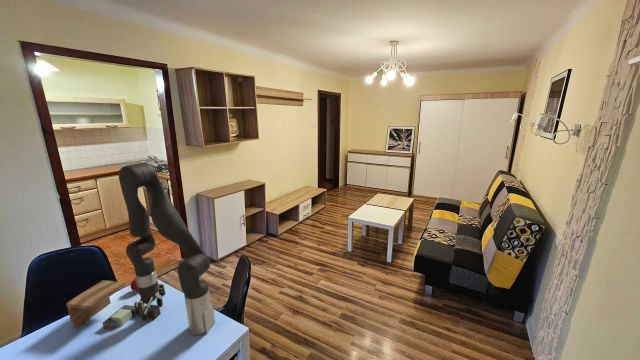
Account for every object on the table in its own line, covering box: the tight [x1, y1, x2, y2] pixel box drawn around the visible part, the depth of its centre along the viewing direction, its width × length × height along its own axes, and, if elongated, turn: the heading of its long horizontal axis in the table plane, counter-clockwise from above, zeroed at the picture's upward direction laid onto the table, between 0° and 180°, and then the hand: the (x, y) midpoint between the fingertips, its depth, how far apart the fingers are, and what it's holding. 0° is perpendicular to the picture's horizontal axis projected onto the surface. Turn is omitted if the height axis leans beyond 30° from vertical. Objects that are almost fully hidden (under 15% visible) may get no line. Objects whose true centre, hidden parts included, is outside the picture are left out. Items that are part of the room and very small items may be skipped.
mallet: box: [101, 304, 161, 331], centre depth 116 cm, size 18×12×4 cm
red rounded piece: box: [130, 277, 138, 292], centre depth 135 cm, size 6×6×8 cm
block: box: [111, 308, 133, 327], centre depth 116 cm, size 5×5×4 cm
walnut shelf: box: [65, 279, 126, 330], centre depth 117 cm, size 12×16×12 cm
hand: (153, 313), depth 119 cm, fingers open, 8 cm apart
